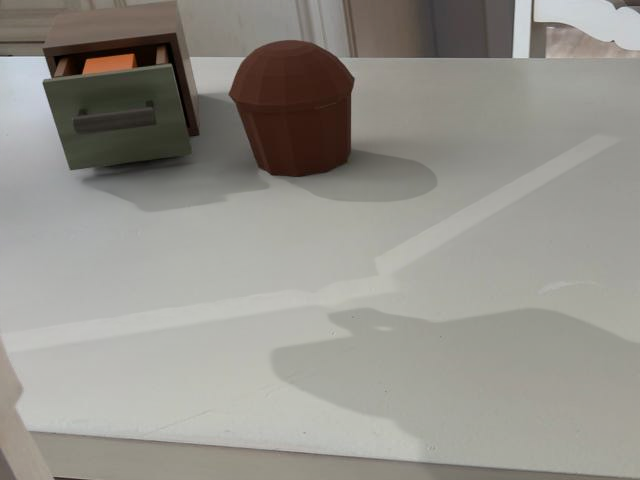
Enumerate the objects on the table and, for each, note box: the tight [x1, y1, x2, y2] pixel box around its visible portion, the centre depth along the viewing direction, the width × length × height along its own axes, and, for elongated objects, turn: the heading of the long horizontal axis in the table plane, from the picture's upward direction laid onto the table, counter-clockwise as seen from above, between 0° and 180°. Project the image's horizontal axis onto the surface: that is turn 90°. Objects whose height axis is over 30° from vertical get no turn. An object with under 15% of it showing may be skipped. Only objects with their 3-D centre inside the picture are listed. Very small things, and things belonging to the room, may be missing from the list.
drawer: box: [41, 43, 193, 171], centre depth 97 cm, size 19×11×8 cm, turn 13°
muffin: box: [227, 39, 356, 177], centre depth 93 cm, size 12×11×10 cm
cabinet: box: [41, 0, 201, 137], centre depth 106 cm, size 16×13×10 cm
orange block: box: [82, 54, 138, 74], centre depth 97 cm, size 5×6×6 cm
